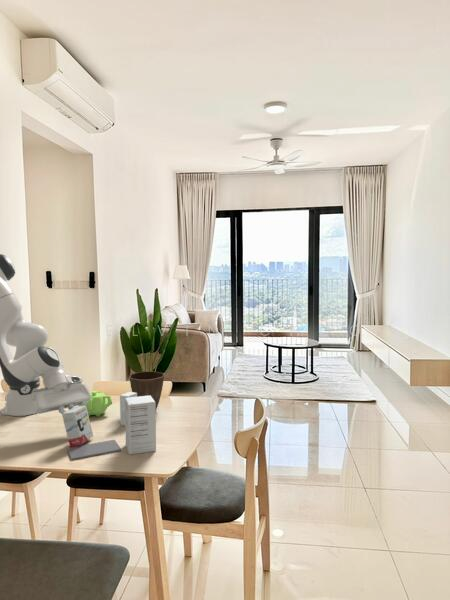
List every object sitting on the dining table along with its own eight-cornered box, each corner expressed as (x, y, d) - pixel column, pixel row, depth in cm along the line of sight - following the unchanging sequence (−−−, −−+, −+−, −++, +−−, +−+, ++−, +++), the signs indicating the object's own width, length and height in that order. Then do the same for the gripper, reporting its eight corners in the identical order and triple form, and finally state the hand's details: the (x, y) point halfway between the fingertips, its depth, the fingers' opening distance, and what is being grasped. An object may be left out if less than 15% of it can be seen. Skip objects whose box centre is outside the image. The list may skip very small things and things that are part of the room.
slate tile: (67, 449, 142) (67, 447, 142) (114, 441, 150) (114, 439, 150) (71, 460, 134) (71, 458, 134) (121, 450, 142) (121, 449, 142)
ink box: (81, 445, 143) (73, 411, 143) (69, 447, 144) (61, 414, 144) (94, 436, 152) (86, 404, 152) (82, 438, 153) (74, 406, 153)
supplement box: (156, 451, 141) (156, 402, 140) (128, 455, 138) (128, 404, 137) (151, 440, 150) (151, 394, 149) (125, 444, 147) (124, 397, 146)
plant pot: (152, 418, 174) (152, 380, 173) (122, 414, 179) (122, 377, 178) (170, 408, 188) (170, 373, 187) (142, 404, 193) (141, 370, 192)
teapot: (113, 414, 180) (113, 391, 179) (88, 420, 171) (88, 397, 171) (99, 408, 188) (99, 386, 187) (75, 414, 180) (74, 391, 179)
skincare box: (129, 420, 172) (129, 391, 172) (137, 421, 170) (137, 392, 170) (119, 424, 167) (119, 395, 166) (128, 426, 165) (128, 396, 164)
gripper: (31, 385, 150) (43, 419, 144) (85, 376, 165) (98, 406, 158) (27, 395, 154) (38, 428, 147) (80, 385, 168) (92, 415, 162)
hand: (69, 417), depth 153 cm, fingers closed
